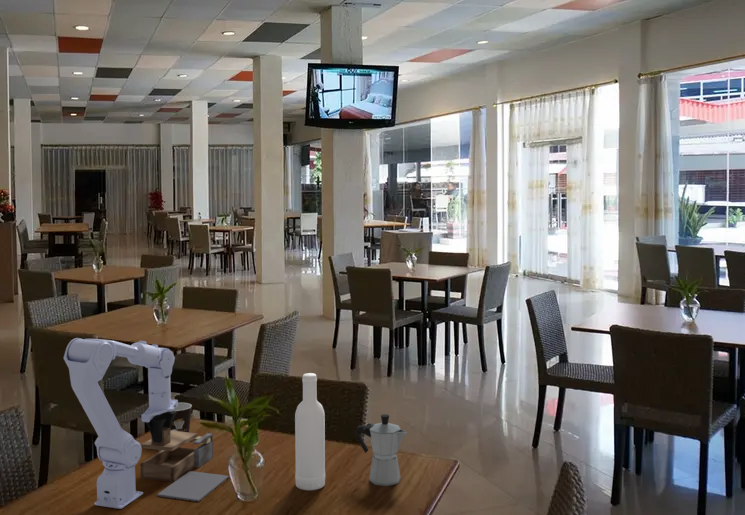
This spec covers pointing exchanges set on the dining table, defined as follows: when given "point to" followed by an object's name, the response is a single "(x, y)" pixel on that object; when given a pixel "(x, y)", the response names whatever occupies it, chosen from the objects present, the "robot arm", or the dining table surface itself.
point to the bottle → (310, 438)
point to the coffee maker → (383, 450)
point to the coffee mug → (182, 417)
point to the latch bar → (201, 442)
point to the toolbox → (177, 461)
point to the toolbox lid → (170, 440)
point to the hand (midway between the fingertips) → (161, 439)
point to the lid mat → (193, 486)
